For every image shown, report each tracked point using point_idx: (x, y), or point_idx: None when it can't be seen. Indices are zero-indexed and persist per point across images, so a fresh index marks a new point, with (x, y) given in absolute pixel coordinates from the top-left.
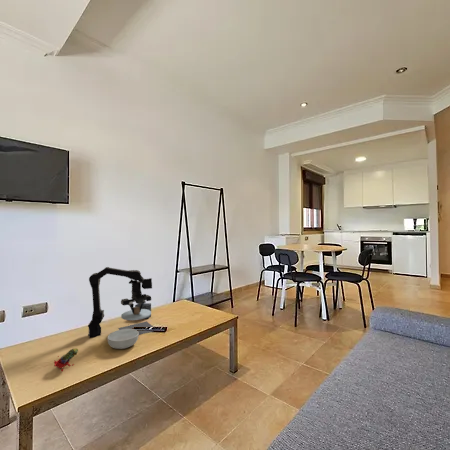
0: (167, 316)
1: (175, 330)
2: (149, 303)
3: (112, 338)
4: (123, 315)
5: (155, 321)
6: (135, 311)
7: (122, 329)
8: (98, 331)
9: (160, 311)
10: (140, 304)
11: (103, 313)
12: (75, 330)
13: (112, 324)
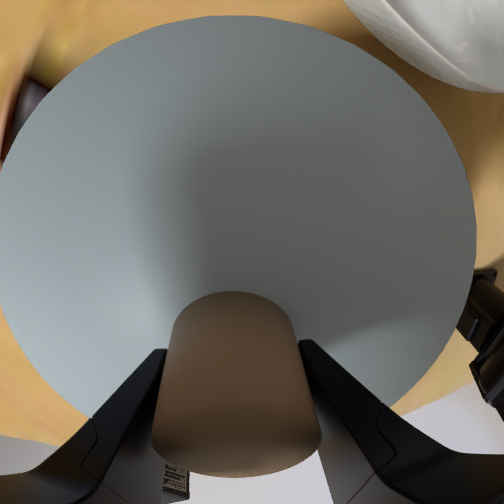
0: (6, 346)
1: None
2: None
3: (489, 73)
4: (427, 346)
5: None
6: (279, 349)
7: (463, 72)
8: (477, 297)
9: (55, 419)
10: (114, 502)
11: (501, 403)
12: (465, 381)
13: None
